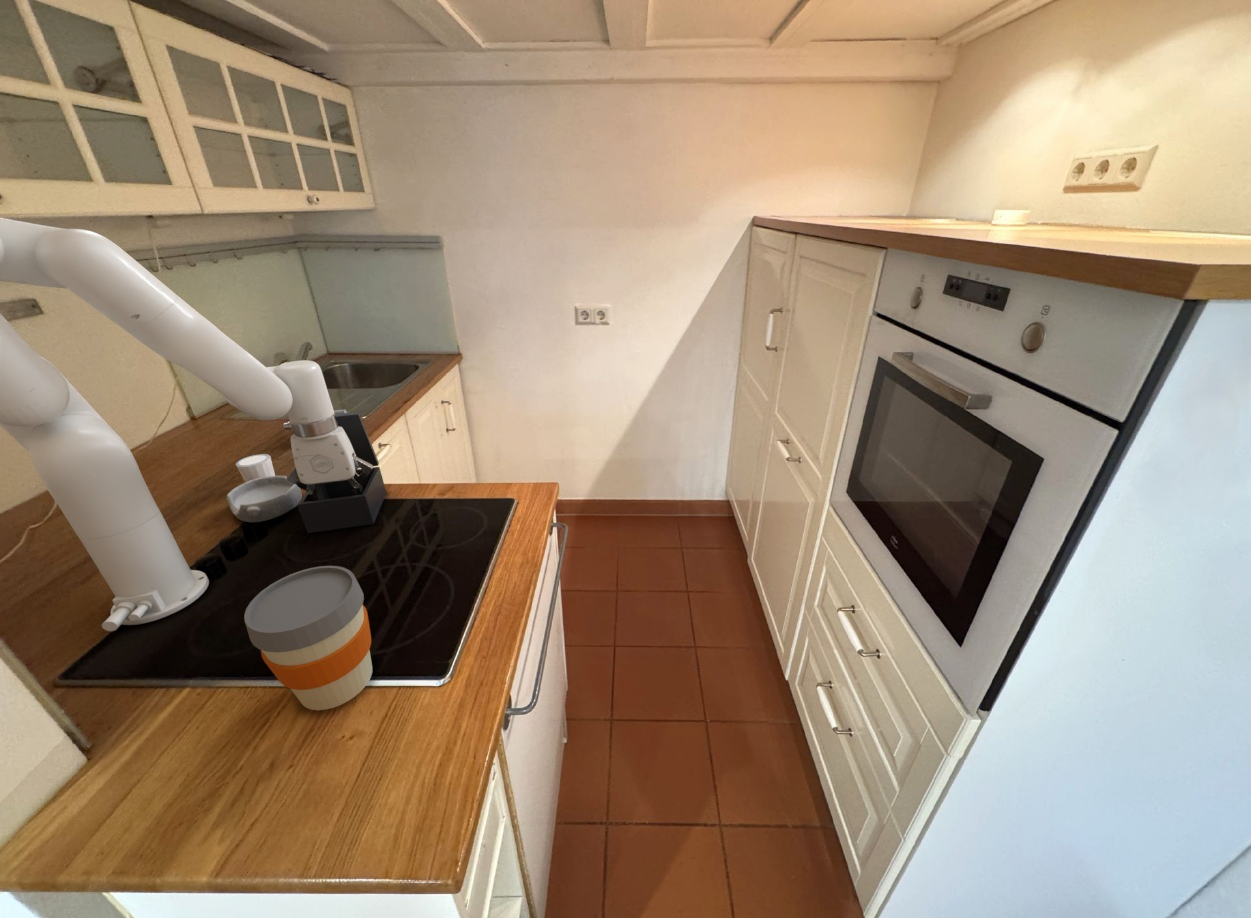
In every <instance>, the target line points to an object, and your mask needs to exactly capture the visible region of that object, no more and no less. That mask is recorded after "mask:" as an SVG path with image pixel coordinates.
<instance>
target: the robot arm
mask: <svg viewBox="0 0 1251 918" xmlns="http://www.w3.org/2000/svg"><path fill="white" fill-rule="evenodd" d="M0 282H5V283H13V284H22V285H30V286H37V287H38V286H39V287H47V288H54V289H55V288H57V289H66V290H69V291H70V292H71V293H73V294H74V295H76V296H77V297H79V298H80V299H81V300H83V301H84V302H85V303H87V304H88V305H89V306H91V307H92V308H93V309H95V310H96V311H98V312H99V313H101V314H102V315H103V316H105V317H106V318H107V319H109V320H110V321H112V323H114V324H115V325H117V326H118V327H119V328H121V329H123V330H124V331H125V332H127V334H129V335H131V336H132V337H133V338H135V339H136V340H137V341H139V343H142V344H143V345H144V346H145V347H147V348H148V349H150V350H151V351H153V352H154V353H156V354H157V355H159V356H160V357H161V358H163V359H165V360H167V361H168V362H171V363H173V364H175V365H176V366H178V367H180V368H181V369H184V370H185V371H186V372H188V373H190V374H192V375H193V376H195V378H198V379H200V380H201V381H202V382H204V383H205V384H207V386H209V387H211V388H212V389H213V390H215V391H216V392H218V393H219V394H220V395H222V397H223V398H224V400H225V401H226V402H227V403H228V404H229V405H230V406H232V407H233V408H235V409H237V410H238V411H240V412H243V413H244V414H246V415H247V416H249V417H250V418H253V419H255V420H258V421H259V420H260V421H263V422H264V421H265V422H271V421H275V420H279V419H281V418H283V417H285V416H286V415H287V417H288V420H289V421H287V422H284V423H283V429H284V430H285V431H291V432H292V435H291V436H290V446H291V454H292V459H293V463H294V469H293V470H291V472H290V473H289V474H288V476H286V477H287V480H288V481H290V482H292V483H293V484H296V485H297V486H298V487H299V488H301V489H302V490H303V491H305V493H306V492H307V494H310V495H311V497H312V500H313V501H317V500H325V497H324V494H323V491H322V488H320V487H318V484H319V483H328V482H336V481H343V480H347V481H348V482H349V483H350V484H351V485H352V486H353V488H352V494H353V496H356V495H362V494H363V492H364V491H363V488H362V485H361V484H362V483H363V482H364V480H365V479H366V477H367V476H368V475H369V473H370V472H371V470H372V469H373V467H374V466H373V465H371V464H369V463H368V462H366V461H364V460H362V459H360V458H358V457H356V455H355V452H354V449H353V447H352V445H351V442H350V440H349V438H348V436H347V435H346V433H345V431H344V429H343V428H342V427H339V426H338V423H337V420H336V416H335V413H334V407H333V404H332V401H331V397H330V394H329V390H328V387H327V384H326V380H325V377H324V374H323V370H322V368H321V366H320V364H319V363H317V362H316V361H313V360H307V359H305V360H304V359H303V360H302V359H301V360H294V361H293V360H292V361H288V362H284V363H281V364H279V365H275V366H274V365H273V366H265V365H264V364H263V363H262V362H261V361H259V360H258V359H257V358H255V357H254V356H253V355H252V354H251V353H249V352H248V351H247V350H245V348H243V347H242V346H240V345H239V344H238V343H237V342H236V341H234V340H233V339H231V338H230V337H229V336H228V335H226V334H225V333H224V332H222V330H221V329H219V328H218V327H217V326H216V325H215V324H213V323H212V322H211V321H210V320H209V319H207V318H206V317H205V316H203V315H202V314H201V313H200V312H199V311H197V310H196V309H195V308H194V307H192V306H191V305H190V304H189V303H187V302H186V301H185V300H184V299H183V298H182V297H180V296H179V294H176V293H175V292H174V291H173V290H172V289H170V287H168V286H167V285H166V284H165V283H163V282H162V281H161V280H160V279H159V278H157V277H156V276H155V275H154V274H153V273H152V272H150V271H149V270H148V269H147V268H145V267H144V266H143V265H142V264H141V263H140V262H138V261H137V260H136V259H134V257H132V256H131V255H130V254H128V253H127V251H125V250H124V249H123V248H121V247H120V246H119V245H117V244H116V243H115V242H114V241H112V240H111V239H109V238H107V237H105V236H103V235H102V234H99V233H97V232H95V231H91V230H88V229H82V228H63V227H56V226H49V225H42V224H37V223H32V222H27V221H19V220H16V219H11V218H6V217H0ZM0 427H1V428H2V429H3V430H4V431H5V432H6V433H7V434H8V435H10V437H12V439H14V441H16V442H17V443H18V445H20V446H21V447H22V448H23V449H24V450H25V451H26V452H27V453H28V454H29V456H30V459H31V462H32V464H33V467H34V470H35V471H36V473H37V476H38V477H39V479H40V481H41V483H42V484H43V486H44V487H45V489H46V490H47V491H48V493H49V494H50V496H51V497H52V499H53V500H54V502H55V503H56V505H57V506H58V508H59V509H60V510H61V512H62V514H63V516H64V517H65V518H66V520H67V522H68V523H69V525H70V527H71V528H72V531H74V533H75V534H76V536H77V537H78V539H79V540H80V542H81V544H82V545H83V547H84V549H85V551H86V552H87V553H88V555H89V556H90V558H91V559H92V562H93V563H94V564H95V566H96V568H97V569H98V571H99V573H100V574H101V576H102V577H103V579H104V580H105V582H106V584H107V585H108V587H109V589H110V591H111V592H112V594H113V595H114V598H113V599H112V600H111V602H112V603H113V605H112V606H111V609H110V615H109V616H108V617H107V618H106V619H105V620H104V621H103V622H102V624H101V627H102V629H103V630H104V631H105V632H115V631H117V630H118V629H119V628H120V626H121V625H122V626H137V625H143V624H147V623H150V622H151V623H152V622H155V621H158V620H161V619H163V618H166V617H168V616H171V615H173V614H175V613H177V612H179V611H181V610H183V609H185V608H186V607H188V606H189V605H191V604H192V603H194V602H195V601H197V600H198V599H199V598H200V597H201V596H202V595H203V594H204V593H205V592H206V590H207V589H208V587H209V584H210V580H209V578H208V576H207V574H206V573H205V572H203V571H201V570H196V569H191V568H190V566H189V564H188V562H187V560H186V558H185V556H184V554H183V552H182V551H181V548H180V547H179V545H178V543H177V541H176V539H175V537H174V536H173V533H172V532H171V529H170V527H169V526H168V524H167V522H166V520H165V518H164V516H163V514H162V512H161V510H160V509H159V507H158V505H157V503H156V500H155V499H154V497H153V495H152V493H151V491H150V489H149V487H148V485H147V484H146V481H145V479H144V477H143V474H142V473H141V469H140V467H139V465H138V463H137V460H136V459H135V457H134V455H133V453H132V451H131V449H130V448H129V446H128V445H127V443H126V442H125V441H124V440H123V438H122V437H121V436H120V435H119V434H118V433H117V432H116V431H115V429H113V428H112V427H111V425H110V424H108V422H106V420H105V419H104V418H103V417H102V416H101V415H100V414H99V413H98V412H97V411H96V409H94V407H92V405H91V404H90V403H89V402H88V400H86V399H85V398H84V397H83V395H82V394H81V393H80V392H79V391H78V390H77V389H76V387H74V386H73V385H72V383H71V382H70V380H68V379H67V378H66V376H65V375H63V373H62V372H61V371H60V370H59V369H58V368H57V367H56V365H54V364H53V363H52V362H51V361H50V360H48V359H47V358H45V357H43V356H41V355H39V354H38V353H37V352H36V351H35V350H34V349H33V348H32V347H31V346H30V345H29V343H27V341H25V339H24V338H23V337H22V336H21V335H20V334H19V333H18V332H17V330H16V329H15V328H14V327H13V326H12V324H11V323H10V322H9V321H8V320H7V319H6V318H5V317H4V315H3V314H2V313H1V312H0ZM357 469H363V472H362V473H361V474H360V475H358V474H357V473H356V470H357Z"/></svg>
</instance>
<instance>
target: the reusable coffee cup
mask: <svg viewBox="0 0 1251 918" xmlns="http://www.w3.org/2000/svg"><path fill="white" fill-rule="evenodd" d="M364 600H365V596H364V592H363V589H362V588H361V586H360V584H359V582H358V580H357V578H356V576H355V573H353V572H352V571H351V570H350V569H348V568H346V567H343V566H339V565H319V566H315V567H314V566H313V567H310V568H309V567H308V568H305V569H302V570H299V571H296V572H293V573H291V574H289V575H286V576H284V577H281V578H280V579H278V580H276V581H274V582H273V583H271V584H269V585H268V586H267V587H265V588H264V589H262V590H261V591H260V592H259V593H258V594H257V595H255V597H253V599H252V600H251V601H250V602H249V604H248V606H247V607H246V608H245V612H244V615H243V616H244V618H243V619H244V623H245V627H246V630H247V633H248V634H247V635H248V637H249V640H250V642H251V644H252V646H253V647H255V648H257V650H260V655H261V656H260V657H261V658H262V660H263V662H264V663H265V665H266V666H267V667H268V668H269V670H270V671H271V672H272V674H274V676H275V678H276V679H277V680H278V681H279V682H280V684H281V685H282V686H284V687H285V688H288V689H290V690H291V691H292V693H293V695H294V696H295V697H296V699H298V701H299V702H300V703H301V705H302V706H303V707H305V708H306V709H308V710H310V711H326V710H331V709H334V708H336V707H339V706H342V705H343V704H346V703H347V702H349V701H350V700H352V699H354V698H355V697H356V696H357V695H359V694H360V693H361V692H362V691H363V690H364V689H365V688H366V686H367V685H368V683H369V682H370V680H371V678H372V675H373V663H372V657H371V650H370V649H371V645H372V635H371V627H370V621H369V615H368V611H367V608H366V606H365V605H364Z"/></svg>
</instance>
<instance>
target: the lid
mask: <svg viewBox="0 0 1251 918" xmlns="http://www.w3.org/2000/svg"><path fill="white" fill-rule="evenodd" d="M333 410H334V409H333ZM334 413H335V416H336V420H337V423H338V426H339V427H342V428H343V429H344V431H345V433H346V435H347V436H348V438H349V440H350V442H351V445H352V447H353V449H354V452H355V455H356V457H358V458H360V459H362V460H364V461H366V462H368V463H369V464H371V465H373V467H379V465H380V462H379V459H378V456H377V454H376V452H375V449H374V446H373V444H372V442H371V439H370V436H369V434H368V431H367V429H366V426H365V424H364V421H363V418H362V416H361V413H360V411H353V412H352V411H351V412H348V411H347V409H335V410H334Z"/></svg>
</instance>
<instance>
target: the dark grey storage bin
mask: <svg viewBox="0 0 1251 918" xmlns="http://www.w3.org/2000/svg"><path fill="white" fill-rule="evenodd" d="M362 472H363V469H361V468H358V469H357V470H356V473H357V474H358V475H360V474H361V473H362ZM361 485H362V488H363V491H364V492H363V494H362V495H356V496H353V494H352V488H353V486H352V485H351V484H350V483H349V482H348V481H347V480H343V481H336V482H328V483H319V484H318V487H320V488H322V491H323V494H324V497H325V500H317V501H313V500H312V497H311V495H310V494H307V492H306V491H305V493H304V494H303V495H302V499H301V500H300V501H299V503H298V504H297V506H296V507H297V509H298V511H299V513H300V517H301V519H302V522H303V524H304V528H305V529H306V532H307V534H313V533H319V532H327V531H333V530H341V529H348V528H356V527H362V526H370V525H374V524H375V522H376V520H377V517H378V515H379V513H380V509H381V507H382V505H383V502H384V500H385V498H386V496H387V493H388V492H387V489H386V486H385V482H384V478H383V475H382V471H381V468H380V466H373V469H372V470H371V472H370V473H369V475H368V476H367V477H366V479H365V480H364V482H363V483H362V484H361Z"/></svg>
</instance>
